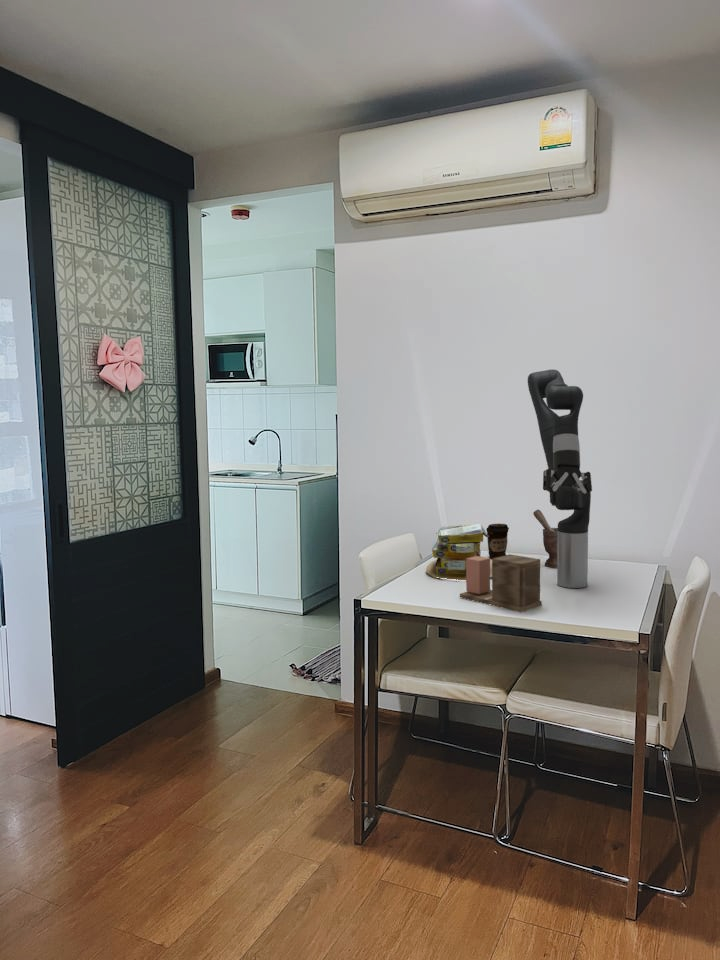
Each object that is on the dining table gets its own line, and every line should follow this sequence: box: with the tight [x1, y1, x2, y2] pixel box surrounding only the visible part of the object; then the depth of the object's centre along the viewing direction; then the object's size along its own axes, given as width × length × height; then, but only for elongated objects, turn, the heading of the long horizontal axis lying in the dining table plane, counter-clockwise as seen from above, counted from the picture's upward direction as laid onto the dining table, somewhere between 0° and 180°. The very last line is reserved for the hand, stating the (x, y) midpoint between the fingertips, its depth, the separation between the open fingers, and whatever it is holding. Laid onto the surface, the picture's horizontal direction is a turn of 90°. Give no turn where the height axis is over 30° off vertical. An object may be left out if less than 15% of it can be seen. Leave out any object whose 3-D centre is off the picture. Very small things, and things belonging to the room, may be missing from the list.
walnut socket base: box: [459, 553, 543, 613], centre depth 212 cm, size 22×10×13 cm, turn 42°
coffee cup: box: [485, 523, 510, 560], centre depth 270 cm, size 9×8×13 cm
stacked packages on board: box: [425, 523, 492, 580], centre depth 249 cm, size 25×25×17 cm
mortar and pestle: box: [532, 509, 558, 568], centre depth 257 cm, size 12×9×20 cm
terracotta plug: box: [465, 556, 491, 594], centre depth 218 cm, size 5×5×10 cm
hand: (568, 506), depth 210 cm, fingers open, 8 cm apart
